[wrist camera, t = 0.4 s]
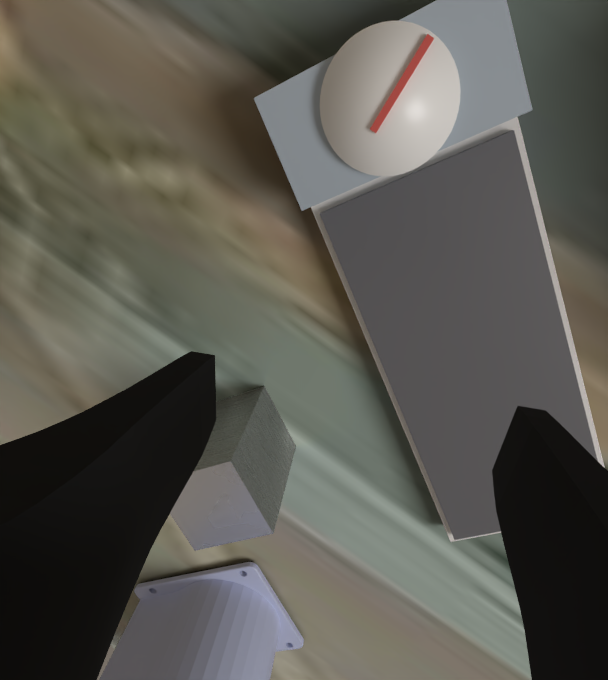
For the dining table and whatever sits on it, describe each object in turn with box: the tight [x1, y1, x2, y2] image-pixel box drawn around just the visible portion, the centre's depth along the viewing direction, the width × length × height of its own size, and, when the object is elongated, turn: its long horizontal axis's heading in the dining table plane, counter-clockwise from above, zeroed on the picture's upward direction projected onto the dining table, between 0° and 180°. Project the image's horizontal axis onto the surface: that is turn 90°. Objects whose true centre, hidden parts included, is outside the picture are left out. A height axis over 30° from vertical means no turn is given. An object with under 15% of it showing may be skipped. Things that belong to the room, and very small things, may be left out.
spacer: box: [170, 386, 296, 550], centre depth 22 cm, size 4×4×6 cm
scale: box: [254, 0, 605, 542], centre depth 19 cm, size 8×23×3 cm, turn 24°
